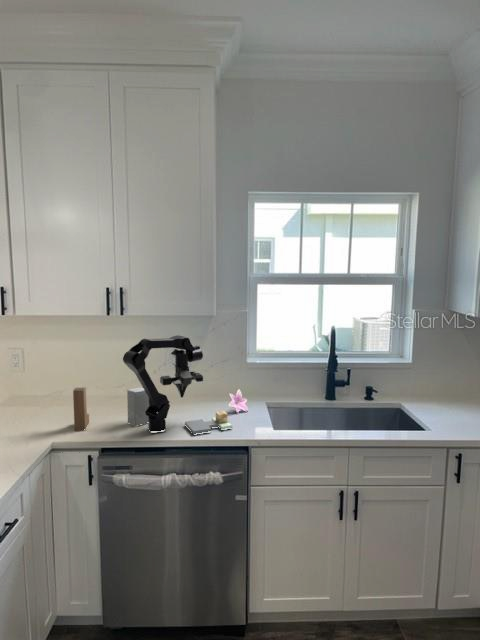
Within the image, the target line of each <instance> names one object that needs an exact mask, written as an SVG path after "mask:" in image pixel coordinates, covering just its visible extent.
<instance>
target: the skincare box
mask: <svg viewBox="0 0 480 640" xmlns="http://www.w3.org/2000/svg"><path fill="white" fill-rule="evenodd" d="M126 391H127V393H126V395H127V424H128V423H130V424H132V425H131V426H133V425H134V426H133V427H135V426H137V425H140V424H144V423H147V422H149V420H148V417H149V416H146V413H145V411H146V410H147V408H148V407H149V406H150V405H149V397H148V395H147V393H146V392H145V390H144V388H143V387H135V388H131V389H127V390H126ZM130 424H129V425H130ZM147 424H148V423H147ZM144 425H145V424H144ZM137 427H138V426H137Z"/></svg>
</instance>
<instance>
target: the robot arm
mask: <svg viewBox="0 0 480 640" xmlns="http://www.w3.org/2000/svg"><path fill="white" fill-rule="evenodd" d="M170 348H172V349H173V351H172V352H171V353H170V354H171V355H172V356H174V358H175V359H174V362H175V363H174V369H175V370H174V371H175V373H174V376H175V377H173V376H172V377H171V376H170V375H161V376H160V377H159V383H160V384H161V385H163V386H170V385H172V384H173V385H174V386H175V387H176V389H177V391H178V394H179V396H180V398H184V396H185V393H186V390H187V389H188V388H187V387H188V386H189V385H191V384H192V383H193V381H196V382H197V383H198V382H199V383H200V382H203V381H204V376H203V374H201V373H199V372H196V371H195V370H194V371H190V366H189V363H193V362H199V361H202V360H203V358H204V354H203V351H202V349H201V346H199V345H194V346H193V344H192V343H191V339H190V338H189V337H188V336H183V335H178V334H177V335H173V336H171V337H169V338H143V339H141V340H140V341H139V342H138V343H136V344H135V345H133V346H132V347H131V348H130V349H129V350H128V351H126V352H125V353H124V355H123V357H122V362H123V363H124V364H125V366H127V367H128V369H130V370H131V371H132V372H133V373H134V374H135V375H136V377H137V379H138V381H139V384H141V386H142V387H143V388H144V390H145V392H146V393H147V395H148V397H149V405H150V406H149V407H148V408H147V410H146V411H145V413H146V416H149V417H148V420H149V423H148V428H149V430H150V431H161V430H164V429H165V430H166V427H167V425H166V419H167V418H168V413H169V410H170V408H171V405H170V403H171V401H169V399H168V397H167V395H166V394H163V393H161V392H159V390H158V388H157V386H156V385H155V384H154V381H153V379H152V378H151V376H150V374H149V373H148V371H147V369H146V359H147V358H148V356H149V353H150V351H151V350H152V349H170ZM149 430H148V431H149Z"/></svg>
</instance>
